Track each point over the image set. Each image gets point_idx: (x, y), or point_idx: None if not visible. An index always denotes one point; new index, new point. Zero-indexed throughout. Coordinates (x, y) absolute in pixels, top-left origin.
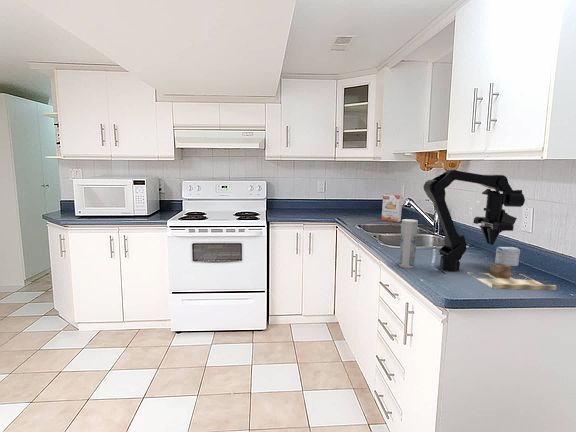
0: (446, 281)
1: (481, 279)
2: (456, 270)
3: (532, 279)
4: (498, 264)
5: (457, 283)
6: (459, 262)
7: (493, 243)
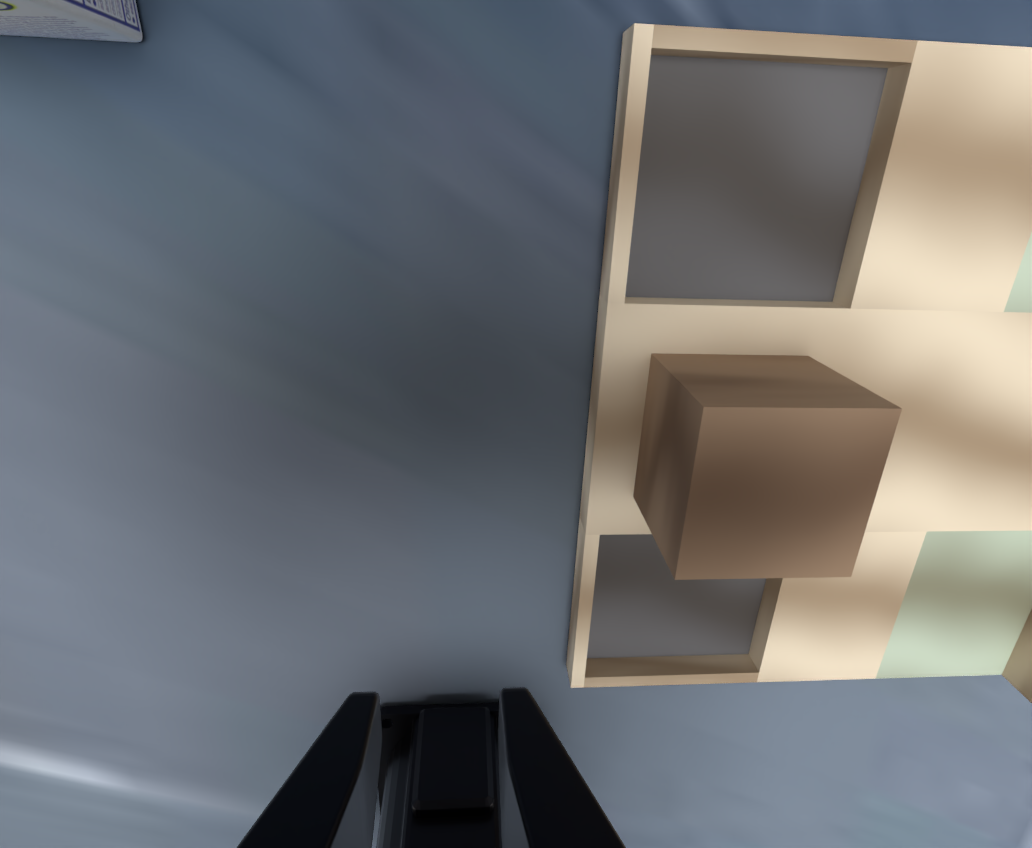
0: (714, 838)
1: (792, 654)
2: (497, 739)
3: (901, 48)
4: (748, 512)
5: (768, 792)
6: (492, 798)
7: (542, 723)
